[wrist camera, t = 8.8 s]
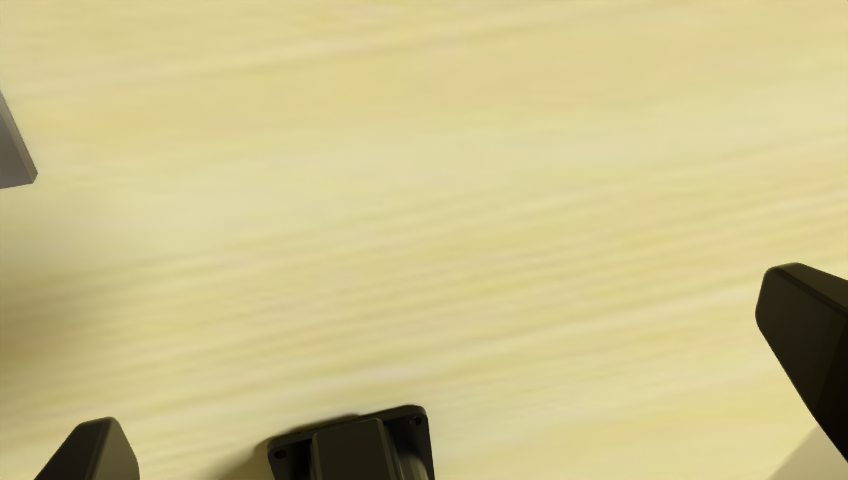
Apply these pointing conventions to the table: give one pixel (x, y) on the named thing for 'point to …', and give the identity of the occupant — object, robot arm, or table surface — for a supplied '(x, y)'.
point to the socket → (13, 152)
